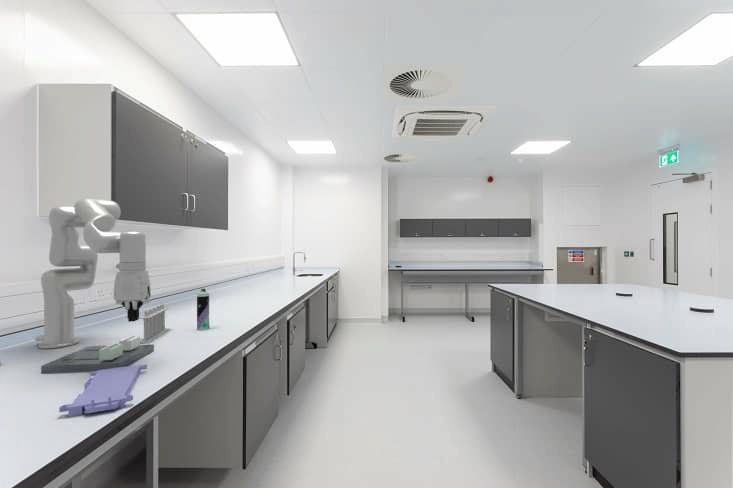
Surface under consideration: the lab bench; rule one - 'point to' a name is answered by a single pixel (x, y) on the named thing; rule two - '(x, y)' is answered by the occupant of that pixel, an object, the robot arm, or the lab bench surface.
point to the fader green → (111, 352)
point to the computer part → (105, 390)
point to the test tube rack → (154, 324)
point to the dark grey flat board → (94, 360)
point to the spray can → (203, 310)
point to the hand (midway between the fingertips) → (133, 320)
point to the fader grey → (130, 342)
